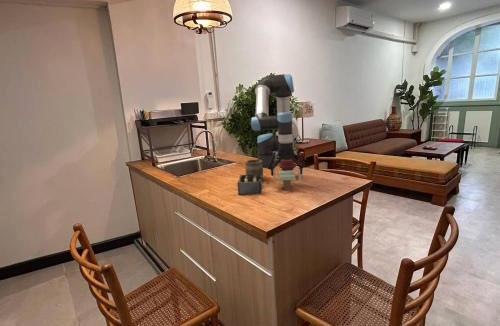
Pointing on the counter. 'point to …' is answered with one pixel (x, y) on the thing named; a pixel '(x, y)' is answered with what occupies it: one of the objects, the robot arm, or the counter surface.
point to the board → (287, 175)
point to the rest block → (287, 184)
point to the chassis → (249, 184)
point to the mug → (254, 167)
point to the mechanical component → (287, 165)
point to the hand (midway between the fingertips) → (286, 180)
